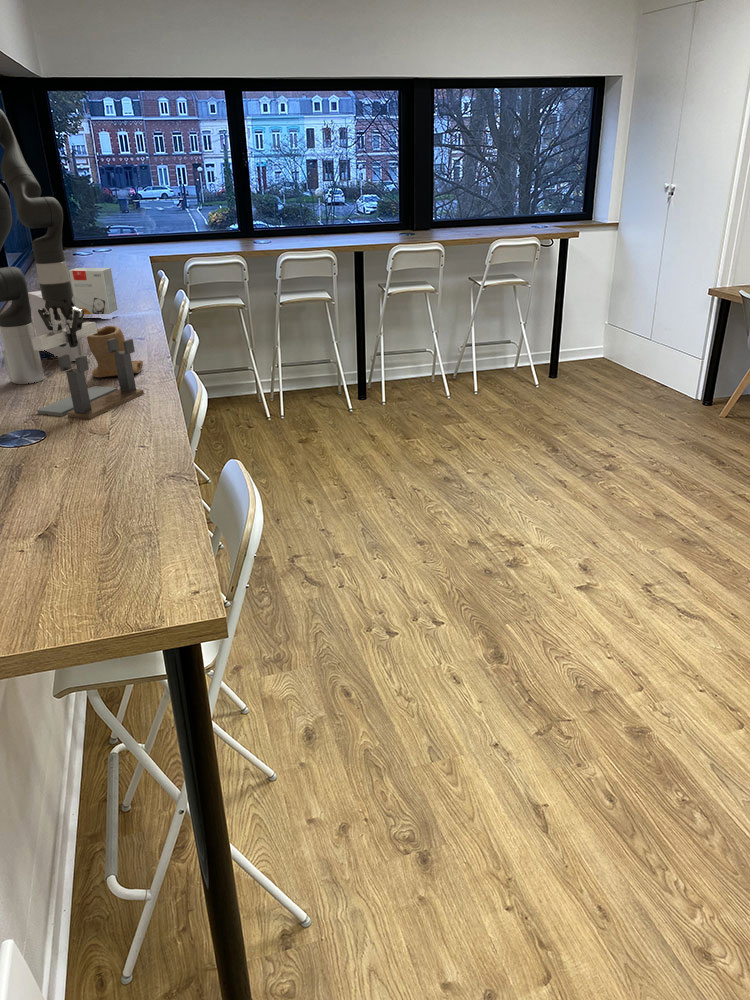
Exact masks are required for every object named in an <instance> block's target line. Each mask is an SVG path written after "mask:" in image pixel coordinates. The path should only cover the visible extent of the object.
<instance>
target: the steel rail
mask: <svg viewBox="0 0 750 1000" xmlns="http://www.w3.org/2000/svg"><path fill="white" fill-rule="evenodd" d="M70 328H71V327H70ZM97 329H98V328H97V323H96V321H85V322H82V329H81V330H78V331H76V336H77V340H78V339H81V340H82V339H83V338H87V336H90V335H93V334H96V333H98V332H97ZM67 334H68V333H67V331H66V328H64V329H61V330H58V331H55V332H51V333H48V334H45V335H41V336H38V337H37V336H36V337H35V338H31V339H32V343H33V348H34V350H39V352H41V351H42V352H45V351H44V350H47V349H50V348H53V347H56V346H59V345H62V344H65V343H69V341H68V336H67Z"/></svg>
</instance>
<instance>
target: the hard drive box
mask: <svg viewBox="0 0 750 1000" xmlns="http://www.w3.org/2000/svg"><path fill="white" fill-rule="evenodd" d="M68 273H69V278H70V283H71V288H72V293H73V297H72V299H73V300H74V304H75V307H76V308H78V309H83V310H84V314H110V313H112V312H114V311H116V310H118V304H117V303H118V302H117V298H116V292H115V291H116V290H115V287H114V286H115V285H114V280H113V273H112V267H75V268H72V269H68ZM118 311H119V310H118Z"/></svg>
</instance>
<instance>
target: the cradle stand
mask: <svg viewBox="0 0 750 1000" xmlns="http://www.w3.org/2000/svg"><path fill="white" fill-rule="evenodd" d="M107 345H108V351H109V353H114V352H116V351H119V349H118V343H117V338H112V339H109V340H107ZM123 345H124V351H119V352H116V353H114V356H115V362H116V368H117V373H118V376H117V378H118V384H119V389H117V391H115V392H112V393H110V394H108V395H106V396H103V397H101V398H99V399H97V400H94V401H92V402H90V399H89V394H88V389H89V388H88V386H87V385H88V384H87V380H86V375H85V372H86V371H89V370H90V368H89V364H88V358H87V355H85V356H81V357H79V358H76V359H75V361H76V362H75V365H76V368H72V367H73V366H72V362H71V361H70V356H69V355H63V356H61V357H57V360H58V365H59V370H60V372H66V373H65V374H66V378H67V383H68V388H69V393H70V396H71V398H72V402H73V407H74V410H72V411H70V412H67V414H66V415H67V417H68V418H75V419H84V420H92V419H94V418H96V417H98V416H100V415H102V414H104V413H106V412H108V411H111V410H113V409H115V408H117V407H119V406H121V405H123V404H125V403H128V402H129V401H132V400H133V399H136V398H138V397H140V396H142V395H144V394H145V393H144V389H139V388H137V386H136V380H135V374H134V373H133V368H132V362H131V361H132V357H131V354H133V353H135V351H136V350H135V346H134V339H133V338H128V339H126V340H125V341H123ZM114 407H115V408H114ZM112 408H113V409H112ZM110 409H111V410H110Z"/></svg>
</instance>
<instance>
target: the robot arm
mask: <svg viewBox="0 0 750 1000" xmlns="http://www.w3.org/2000/svg"><path fill="white" fill-rule="evenodd" d="M0 146H1V147H2V148H3V149H4V150H3V155H2V159H1V163H0V174H1V177H2V179H3V182H4V183H5V185H6V186H7V188H8V190H9V191H10V193H11V195H12V197H13V199H14V203H15V206H16V207H15V208H16V214H17V218H18V220H19V222H20V223H21V224H22V225H23V226H24V227H25V228H28V229H41V228H43V229H44V228H47V229H46V230H47V231H46V234H45V235H42V236H41V237H37V238H35V239H34V240H32V243H31V246H32V251H33V256H34V260H35V265H36V275H37V279H38V284H39V288H40V289H39V290H40V291H41V294H42V298H43V300H45V307H44V308H41V309H38V313H39V314H40V316H41V318H42V320H43V322H44V323H45V325H46V327H47V329H48V330H49V331H50V330H52V331H53V332H55V331H58V330H61V329H63V325H64V326H65V328H66V331H67V333H68V334H67V336H68V341H69V346H70V347H71V348H73V347H76V346H77V344H78V341H77V336H76V331H78V330H81V329H82V323H84V322H83V321H84V319H83V316H84V310H83V309H78V308H76V307H75V306H74V304H75V303H74V304H73V302H72V299H73V293H72V287H71V282H70V277H69V271H68V270H69V269H68V266H67V264H66V259H65V254H64V253H65V252H64V249H63V240H62V239H63V226H64V225H63V224H64V210H63V207H62V205H61V203H60V202H59V200H57V199H56V198H55V197H53V196H42V197H41V195H42V188H41V185H40V184H39V181H38V180H37V178H36V176H35V175H34V174H33V172H32V170H31V169H30V167H29V166H28V164H27V162H26V160H25V158H24V155H23V153H22V150H21V147H20V145H19V142H18V140H17V138H16V135H15V132H14V131H13V128H12V126H11V123H10V121H9V119H8V117H7V116H6V113H5V112H4V111H3V110H2V109H1V108H0ZM12 215H13V213H12V207H11V201H10V197H9V195H8V193H7V191H6V190H5V188H4V187H3V185H2V184H1V183H0V251H1V250H2V248H3V246H4V244H5V242H6V240H7V238H8V236H9V233H10V231H11V229H12V224H13V216H12ZM24 275H25V274H24V273H23V272H22V270H21V269H20V267H17V266H6V267H0V303H4V302H10V301H11V304H10V305H9V307H8V308H6V310H4V311H2V312H1V313H0V335H1V340H2V344H3V348H4V349H3V351H2V355H3V359H4V363H5V367H6V372H7V375H8V379H9V382H11V383H13V384H17V385H27V384H28V383H29V384H34V382H35V383H39V382H41V381H43V380H45V377H46V376H45V374H44V368H43V363H42V359H41V354H40V351H39V350H34V348H33V343H32V339H31V338H35V337H37V335H36V332H35V326H34V322H33V317H32V310H31V306H30V301H29V296H28V292H29V290H28V286H27V280H26V278H25V276H24ZM67 320H69V321H67ZM49 322H50V323H51V325H50V323H49ZM69 324H70V325H69ZM70 326H71V328H70ZM66 345H67V344H66V343H65V344H62V345H59V347H64V346H66Z"/></svg>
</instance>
